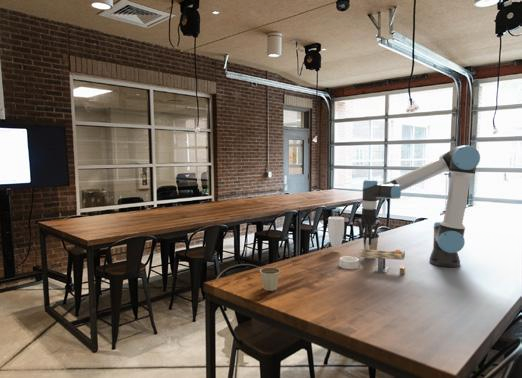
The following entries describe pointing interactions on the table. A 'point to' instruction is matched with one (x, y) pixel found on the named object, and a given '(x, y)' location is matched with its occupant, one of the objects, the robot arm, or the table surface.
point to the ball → (397, 252)
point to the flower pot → (270, 278)
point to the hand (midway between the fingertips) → (367, 250)
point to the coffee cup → (372, 243)
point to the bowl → (349, 262)
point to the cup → (336, 231)
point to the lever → (381, 254)
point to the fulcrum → (385, 267)
